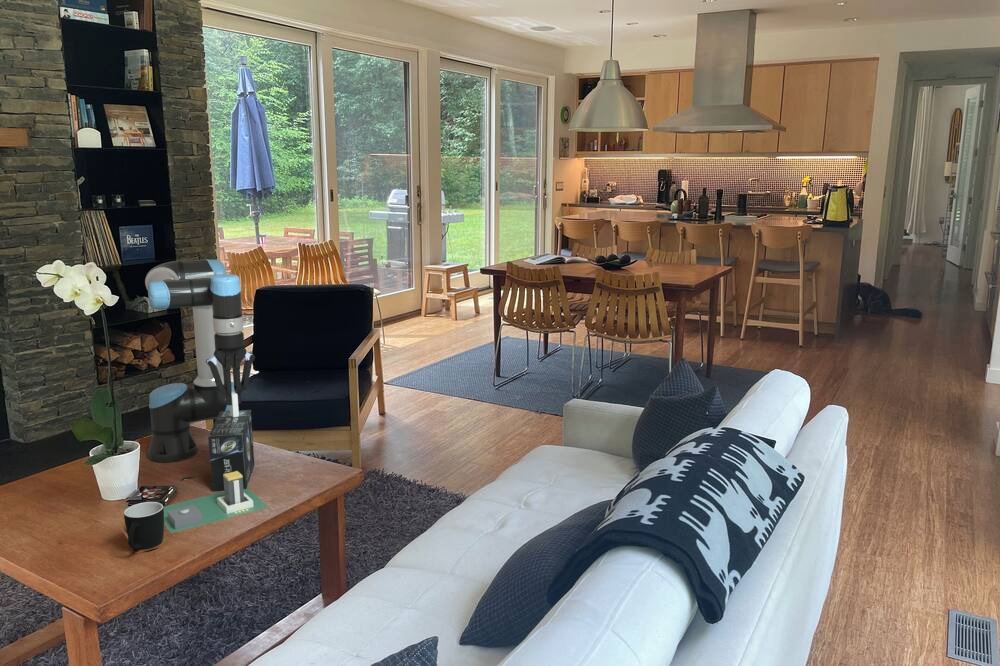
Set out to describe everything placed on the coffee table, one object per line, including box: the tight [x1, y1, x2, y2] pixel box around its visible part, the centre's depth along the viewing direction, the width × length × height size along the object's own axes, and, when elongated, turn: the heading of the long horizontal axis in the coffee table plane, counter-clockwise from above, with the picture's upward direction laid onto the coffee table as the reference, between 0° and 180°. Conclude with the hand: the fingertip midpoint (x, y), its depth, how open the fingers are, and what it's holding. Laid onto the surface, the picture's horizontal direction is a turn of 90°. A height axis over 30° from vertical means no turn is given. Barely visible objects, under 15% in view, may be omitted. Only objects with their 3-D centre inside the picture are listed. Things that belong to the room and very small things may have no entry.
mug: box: [123, 501, 165, 553], centre depth 190 cm, size 12×9×10 cm
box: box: [207, 409, 255, 493], centre depth 233 cm, size 23×10×19 cm, turn 12°
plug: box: [223, 471, 244, 506], centre depth 213 cm, size 5×4×9 cm
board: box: [163, 487, 269, 534], centre depth 212 cm, size 18×26×4 cm
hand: (234, 415), depth 211 cm, fingers closed
